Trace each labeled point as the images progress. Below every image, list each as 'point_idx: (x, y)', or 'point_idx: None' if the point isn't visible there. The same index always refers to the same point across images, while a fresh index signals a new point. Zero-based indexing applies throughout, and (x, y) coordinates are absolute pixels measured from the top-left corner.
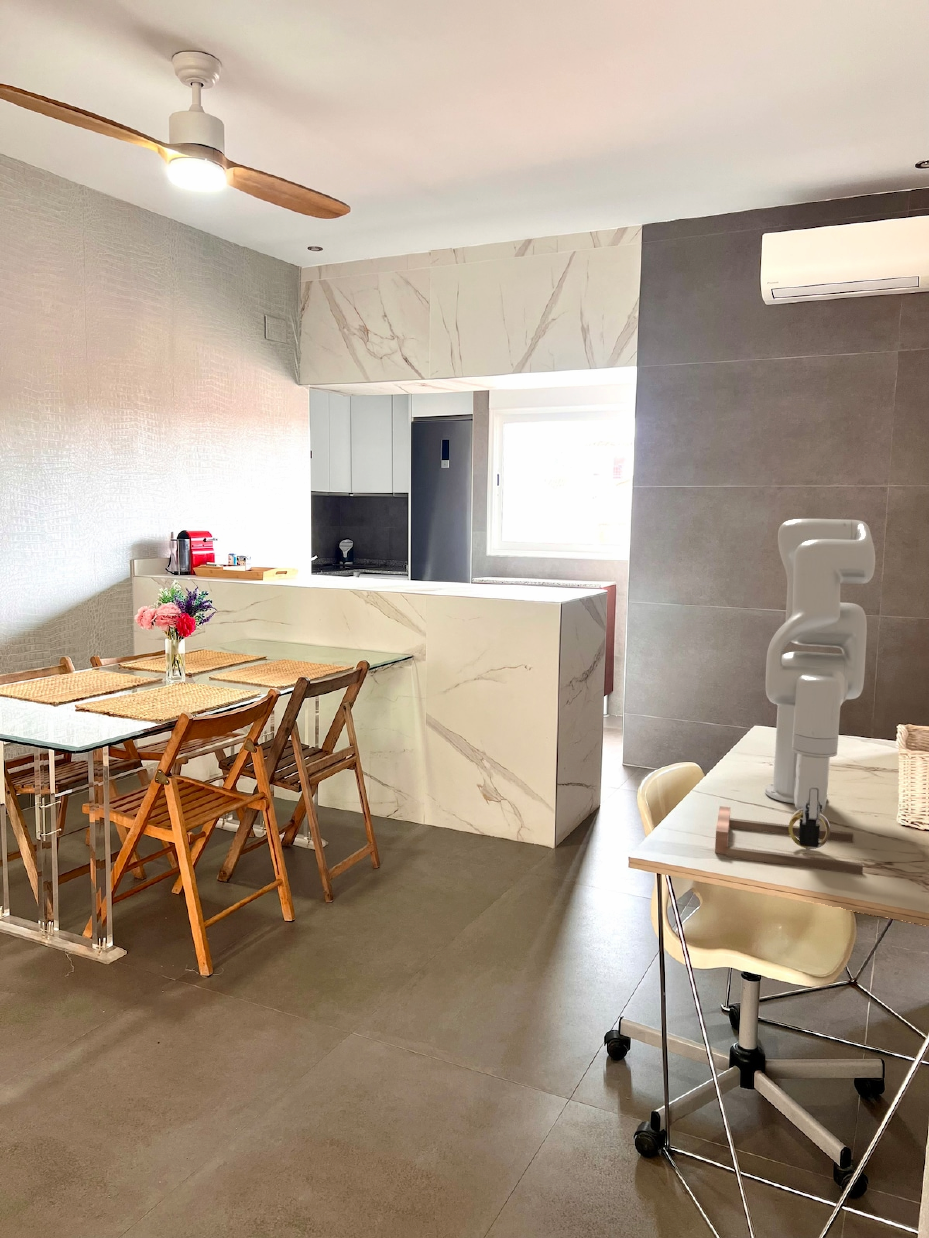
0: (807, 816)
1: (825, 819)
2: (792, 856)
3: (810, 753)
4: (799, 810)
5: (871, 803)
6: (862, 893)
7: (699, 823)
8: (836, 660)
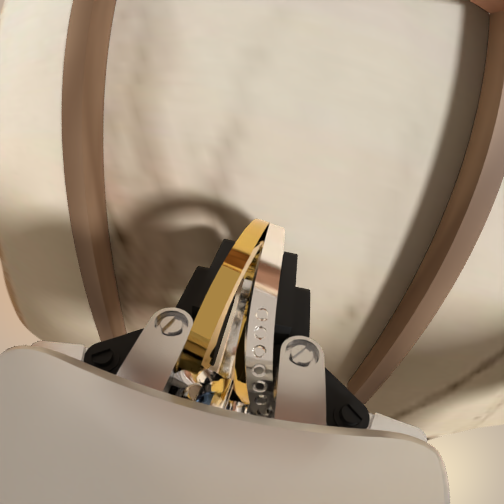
0: (86, 356)
1: None
2: (66, 179)
3: None
4: (245, 370)
5: None
6: (27, 286)
7: None
8: None
